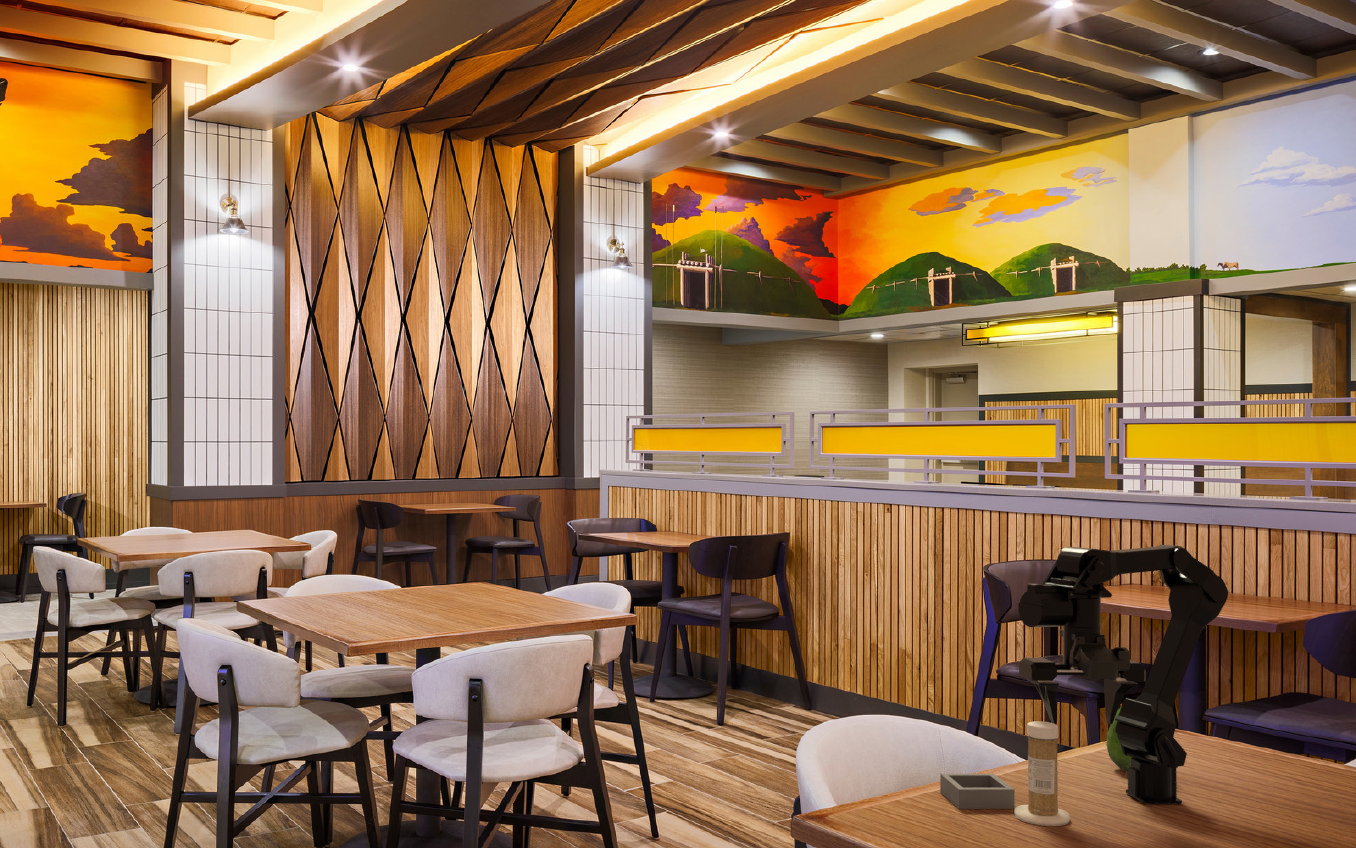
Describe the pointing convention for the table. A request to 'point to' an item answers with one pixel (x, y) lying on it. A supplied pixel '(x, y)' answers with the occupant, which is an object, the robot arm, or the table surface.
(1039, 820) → the white round coaster
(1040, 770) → the sprinkles bottle
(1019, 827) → the table surface
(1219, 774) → the table surface
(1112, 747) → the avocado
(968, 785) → the sleeve
